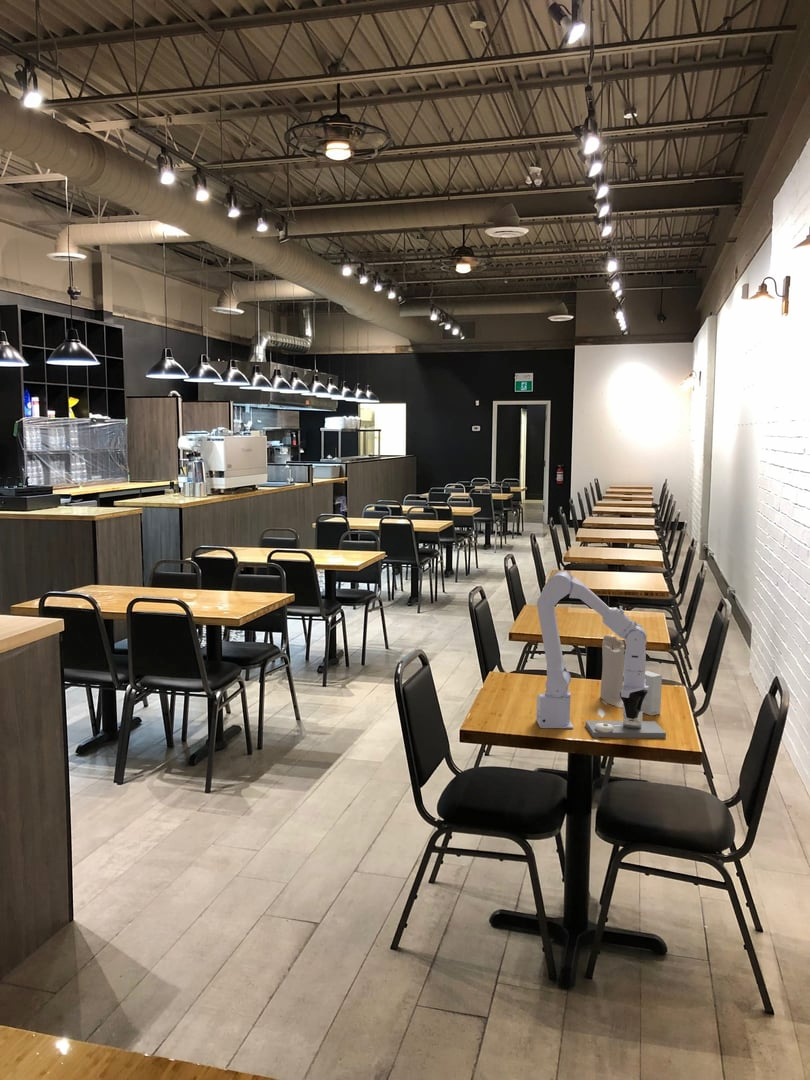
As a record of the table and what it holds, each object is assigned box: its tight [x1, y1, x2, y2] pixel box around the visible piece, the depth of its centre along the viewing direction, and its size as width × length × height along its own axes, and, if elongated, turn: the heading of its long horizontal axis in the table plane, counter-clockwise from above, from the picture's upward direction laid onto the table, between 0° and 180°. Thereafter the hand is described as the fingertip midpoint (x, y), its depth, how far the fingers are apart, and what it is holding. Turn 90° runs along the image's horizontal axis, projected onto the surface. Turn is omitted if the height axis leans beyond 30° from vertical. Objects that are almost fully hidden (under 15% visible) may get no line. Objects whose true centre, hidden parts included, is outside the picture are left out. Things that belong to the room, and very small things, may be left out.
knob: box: [622, 704, 644, 729], centre depth 238 cm, size 6×5×6 cm
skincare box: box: [641, 670, 663, 716], centre depth 256 cm, size 6×4×12 cm
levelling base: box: [584, 720, 667, 739], centre depth 238 cm, size 20×10×3 cm, turn 90°
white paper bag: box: [599, 635, 625, 709], centre depth 266 cm, size 7×14×20 cm, turn 9°
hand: (632, 716), depth 238 cm, fingers closed on knob, 3 cm apart
